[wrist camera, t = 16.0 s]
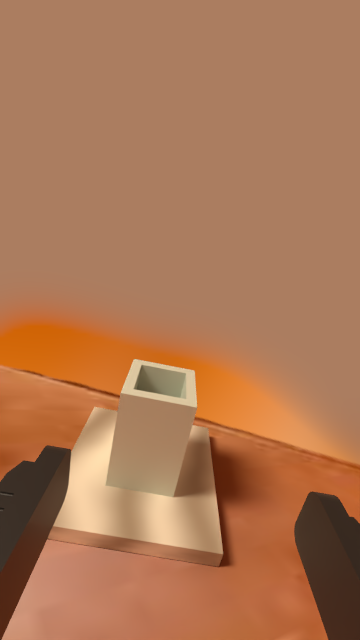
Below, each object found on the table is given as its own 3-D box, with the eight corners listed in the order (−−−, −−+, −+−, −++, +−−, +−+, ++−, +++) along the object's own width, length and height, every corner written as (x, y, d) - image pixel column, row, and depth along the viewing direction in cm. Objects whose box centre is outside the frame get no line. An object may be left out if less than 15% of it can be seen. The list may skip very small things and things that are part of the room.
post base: (205, 437, 37) (221, 381, 34) (218, 566, 23) (247, 488, 20) (93, 416, 36) (101, 358, 34) (33, 536, 22) (39, 451, 19)
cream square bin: (175, 446, 32) (194, 370, 29) (173, 497, 26) (197, 407, 23) (120, 436, 32) (134, 358, 29) (105, 485, 26) (120, 392, 23)
